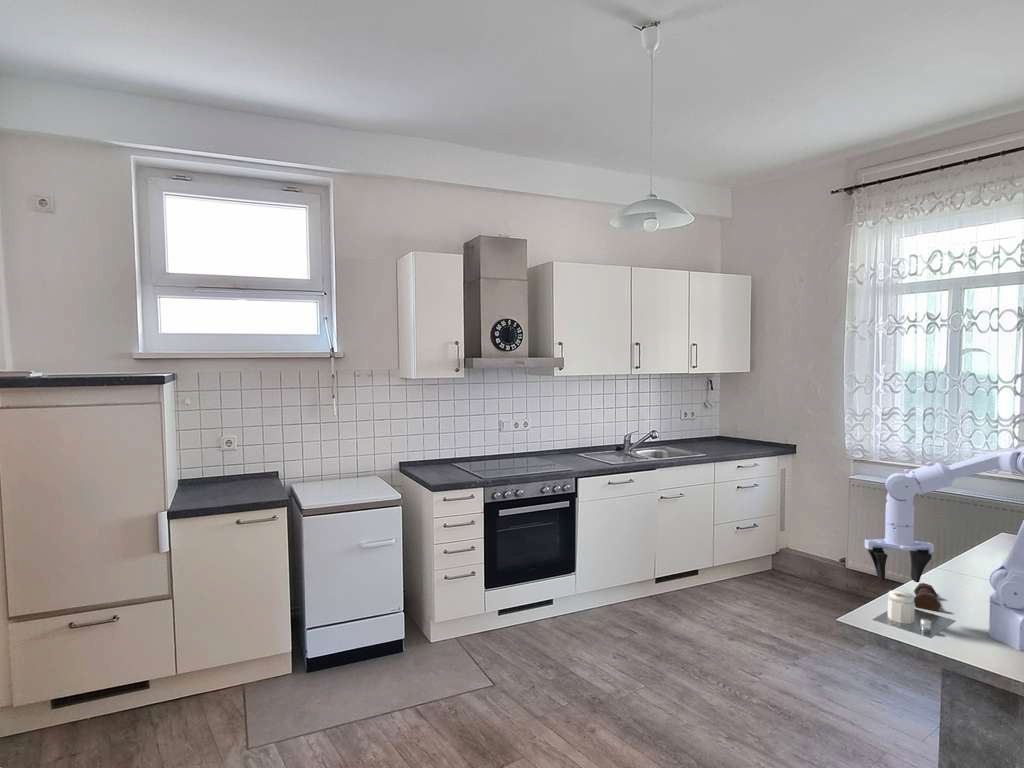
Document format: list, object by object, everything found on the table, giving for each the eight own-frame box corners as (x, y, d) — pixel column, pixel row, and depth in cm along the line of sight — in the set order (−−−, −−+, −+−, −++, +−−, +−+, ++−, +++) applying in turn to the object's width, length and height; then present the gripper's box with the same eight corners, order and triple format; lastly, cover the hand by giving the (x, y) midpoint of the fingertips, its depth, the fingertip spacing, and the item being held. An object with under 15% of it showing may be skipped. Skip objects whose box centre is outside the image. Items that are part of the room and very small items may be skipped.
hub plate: (899, 608, 149) (899, 594, 149) (955, 624, 139) (956, 610, 139) (871, 623, 139) (872, 609, 139) (930, 642, 129) (931, 626, 129)
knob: (893, 613, 143) (893, 588, 143) (916, 620, 139) (917, 594, 139) (884, 618, 140) (885, 592, 140) (908, 625, 136) (909, 599, 136)
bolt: (928, 603, 157) (929, 620, 145) (908, 590, 160) (908, 606, 147) (941, 586, 156) (944, 602, 143) (922, 574, 158) (923, 588, 146)
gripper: (874, 526, 137) (873, 583, 137) (942, 529, 135) (940, 587, 135) (861, 519, 144) (860, 573, 144) (925, 522, 142) (923, 577, 142)
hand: (898, 580), depth 140 cm, fingers open, 7 cm apart
